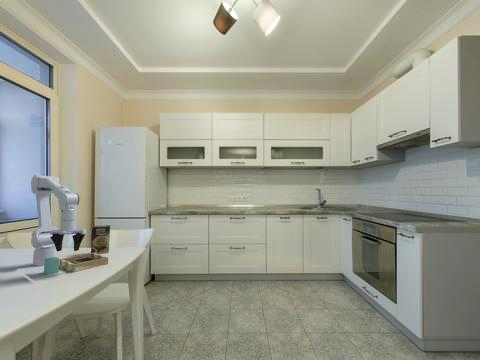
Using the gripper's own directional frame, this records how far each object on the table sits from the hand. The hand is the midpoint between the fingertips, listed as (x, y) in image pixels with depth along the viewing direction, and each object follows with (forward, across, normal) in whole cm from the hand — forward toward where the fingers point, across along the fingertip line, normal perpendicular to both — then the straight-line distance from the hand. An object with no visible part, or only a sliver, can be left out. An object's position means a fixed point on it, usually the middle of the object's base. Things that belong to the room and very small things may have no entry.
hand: (67, 250), depth 105 cm
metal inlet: (+9, +1, +9) cm, 13 cm away
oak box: (+10, +1, +9) cm, 14 cm away
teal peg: (+10, -6, -1) cm, 12 cm away
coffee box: (+9, -4, +32) cm, 34 cm away
